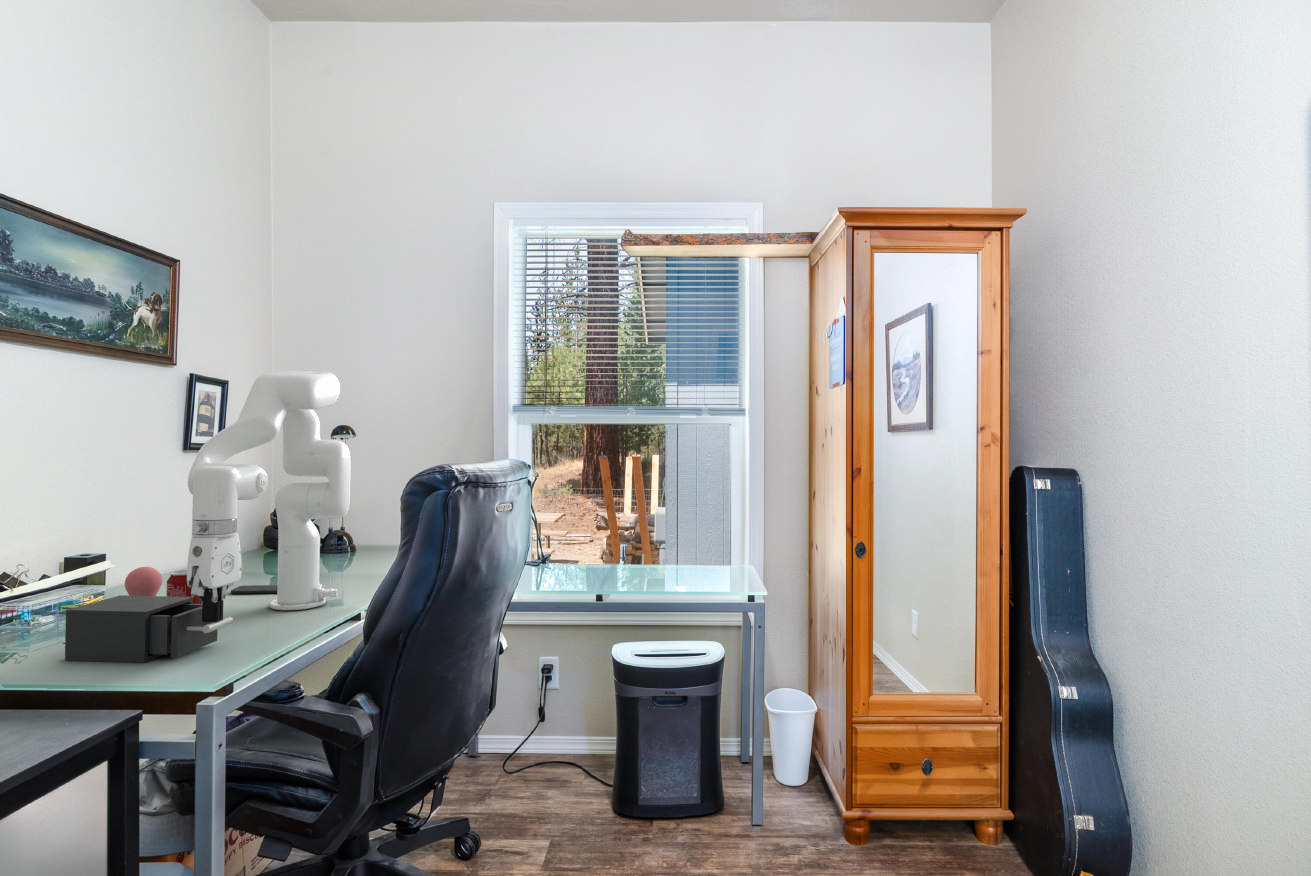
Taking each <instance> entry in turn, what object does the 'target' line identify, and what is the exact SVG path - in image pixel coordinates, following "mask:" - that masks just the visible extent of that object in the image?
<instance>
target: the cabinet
mask: <svg viewBox="0 0 1311 876" xmlns="http://www.w3.org/2000/svg"><path fill="white" fill-rule="evenodd" d="M181 604H193V597H170V596H166V595H165V596H164V595H156V596H129V594H128V595H127V594H125V595H124V594H123V595H121V594H120V595H116V596H112V597H109V598H105V599H101V600H98V601H97V600H96V601H94V602H90V603H87V604H83V605H78V606H75V607H72V608H67V609H66V610H65V630H64V631H65V633H64V635H65V636H64V640H65V641H64V660H65V661H71V662H72V661H75V662H76V661H77V662H106V663H107V662H112V663H141V664H142V663H143V664H144V663H147V662H150V661H152V660H154V659H156V658H157V659H158V658H159V657H161V656H162V657H163V656H164V655H163V654H148V618H149V615H150V614H153V613H156V612H159V611H162V610H166V609H169V608H172V607H175V606H178V605H181Z"/></svg>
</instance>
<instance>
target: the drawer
mask: <svg viewBox="0 0 1311 876" xmlns="http://www.w3.org/2000/svg"><path fill="white" fill-rule="evenodd" d="M233 622H234V618H233V617H232V616H227V617H223V620H221V621H218V622H203V621H202V604H181V605H178V606H175V607H172V608H169V609H166V610H162V611H159V612H156V613H153V614H150V615H149V618H148V654H163V655H162V656H164V655H169V654H170V658H172V659H174V658H175V659H176V658H180V657H181V656H185V655H186V654H189V653H191V652H193V651H196V650H198V649H201V648H203V647H205V646H208V645H210V644H211V643H215V642H217V641H218V630H219V629H221V628H223V627H226V626H229V625H232V624H233Z"/></svg>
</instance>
